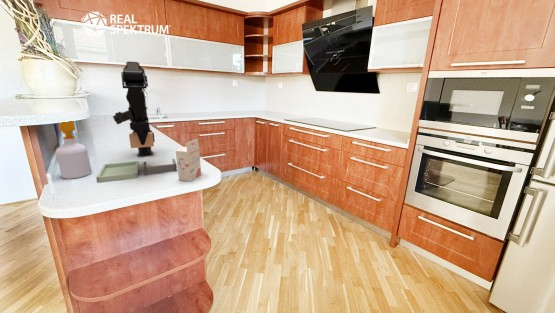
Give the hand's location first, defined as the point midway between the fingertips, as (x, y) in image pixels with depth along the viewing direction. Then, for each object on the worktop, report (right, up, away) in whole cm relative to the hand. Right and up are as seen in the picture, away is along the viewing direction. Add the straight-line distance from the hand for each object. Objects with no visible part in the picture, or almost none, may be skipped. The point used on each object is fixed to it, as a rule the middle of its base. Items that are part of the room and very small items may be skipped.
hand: (142, 143), depth 98 cm
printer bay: (+6, -11, +3) cm, 13 cm away
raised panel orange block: (-2, 0, +3) cm, 3 cm away
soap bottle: (-23, -13, -4) cm, 27 cm away
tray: (-8, -12, -1) cm, 14 cm away
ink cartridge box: (+20, -14, -3) cm, 25 cm away
